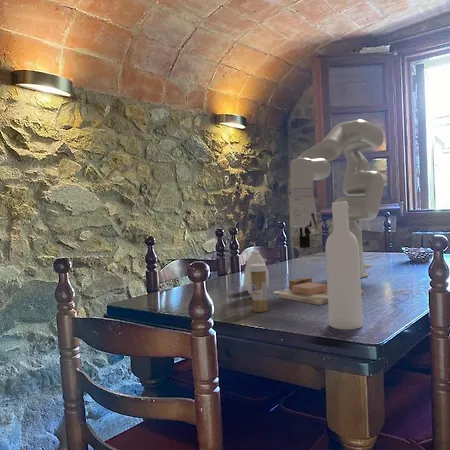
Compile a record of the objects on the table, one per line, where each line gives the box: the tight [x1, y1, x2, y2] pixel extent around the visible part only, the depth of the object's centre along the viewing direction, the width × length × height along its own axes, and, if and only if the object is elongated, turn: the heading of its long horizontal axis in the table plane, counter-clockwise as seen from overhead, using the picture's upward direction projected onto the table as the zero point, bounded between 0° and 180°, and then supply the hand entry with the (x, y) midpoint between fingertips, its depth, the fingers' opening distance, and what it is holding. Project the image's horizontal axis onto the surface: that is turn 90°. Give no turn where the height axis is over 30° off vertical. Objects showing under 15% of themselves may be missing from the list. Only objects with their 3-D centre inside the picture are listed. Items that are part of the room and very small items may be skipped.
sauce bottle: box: [244, 242, 270, 296], centre depth 148 cm, size 8×8×18 cm
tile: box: [292, 282, 327, 295], centre depth 147 cm, size 2×8×8 cm
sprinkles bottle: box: [250, 264, 269, 313], centre depth 130 cm, size 5×5×13 cm
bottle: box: [324, 201, 364, 331], centre depth 109 cm, size 8×8×30 cm
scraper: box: [271, 277, 313, 295], centre depth 157 cm, size 15×5×4 cm, turn 124°
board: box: [278, 287, 365, 306], centre depth 146 cm, size 20×18×1 cm
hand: (304, 247), depth 156 cm, fingers closed
